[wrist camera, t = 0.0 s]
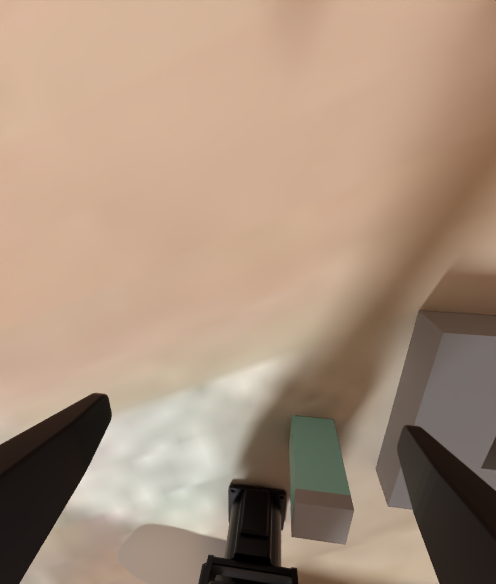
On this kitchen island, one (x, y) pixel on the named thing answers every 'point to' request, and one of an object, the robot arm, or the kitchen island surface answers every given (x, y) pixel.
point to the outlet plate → (445, 396)
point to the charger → (318, 482)
